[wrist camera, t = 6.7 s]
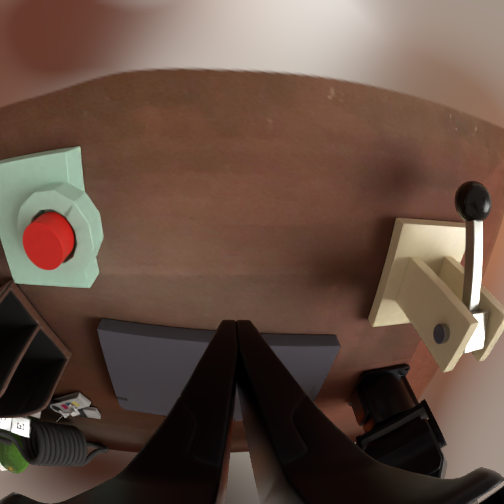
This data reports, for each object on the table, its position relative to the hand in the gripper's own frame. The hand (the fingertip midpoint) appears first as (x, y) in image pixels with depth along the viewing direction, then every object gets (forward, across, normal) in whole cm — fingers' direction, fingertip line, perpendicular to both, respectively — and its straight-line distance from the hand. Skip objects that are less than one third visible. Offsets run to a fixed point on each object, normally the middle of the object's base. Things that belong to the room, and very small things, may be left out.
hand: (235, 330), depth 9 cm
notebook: (+12, +1, +18) cm, 22 cm away
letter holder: (+12, +27, +16) cm, 33 cm away
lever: (+7, -17, +2) cm, 18 cm away
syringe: (+11, +20, +24) cm, 33 cm away
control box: (+12, +13, +1) cm, 18 cm away
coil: (+11, +26, +31) cm, 42 cm away
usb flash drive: (+12, +21, +26) cm, 36 cm away
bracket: (+12, -17, +6) cm, 22 cm away
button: (+9, +11, +1) cm, 14 cm away
